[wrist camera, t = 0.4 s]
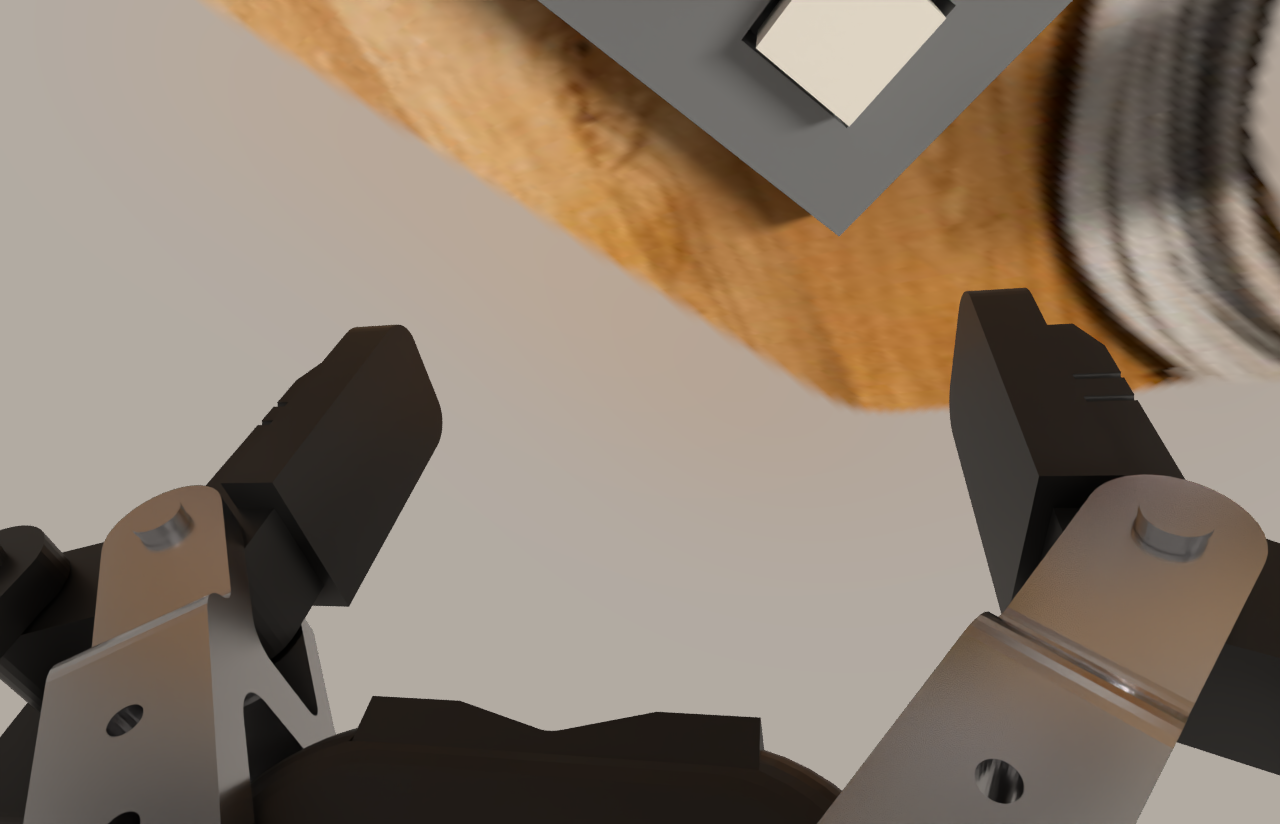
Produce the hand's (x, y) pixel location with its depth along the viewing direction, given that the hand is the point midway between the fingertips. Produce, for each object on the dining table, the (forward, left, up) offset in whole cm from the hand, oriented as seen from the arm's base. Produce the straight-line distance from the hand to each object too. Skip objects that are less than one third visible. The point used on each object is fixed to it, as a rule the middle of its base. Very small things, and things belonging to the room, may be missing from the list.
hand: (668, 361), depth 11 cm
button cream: (-3, +3, -22) cm, 23 cm away
